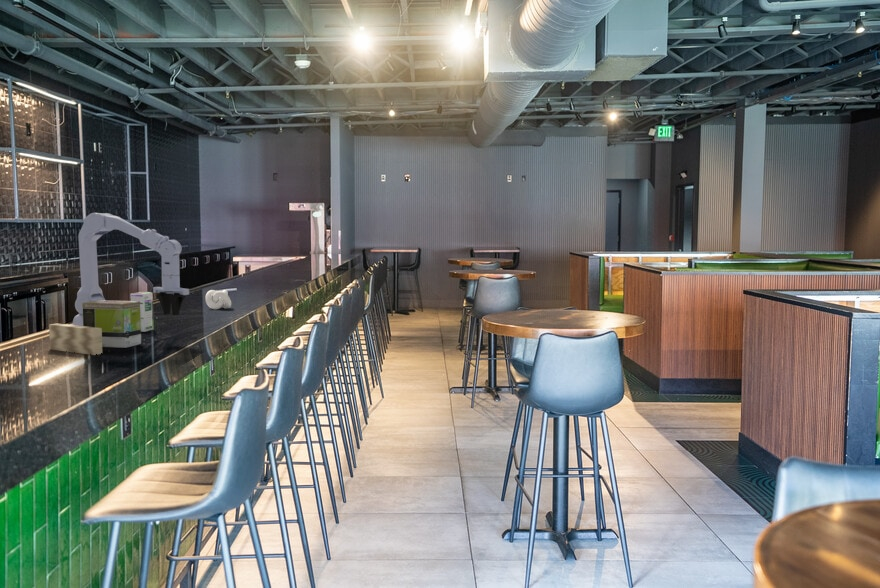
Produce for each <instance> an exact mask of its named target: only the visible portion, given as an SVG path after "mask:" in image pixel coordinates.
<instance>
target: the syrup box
mask: <svg viewBox="0 0 880 588" xmlns="http://www.w3.org/2000/svg"><path fill="white" fill-rule="evenodd" d="M153 294H154V293H153V291H151V292H150V291H138V292H134V293H133V292H132V293H130V301H140V318H141V333H142V332H145V333H146V332H149V331H153V330H154V329H155V326H154V324H155V323H154V322H155V321H154V298H153Z"/></svg>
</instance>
